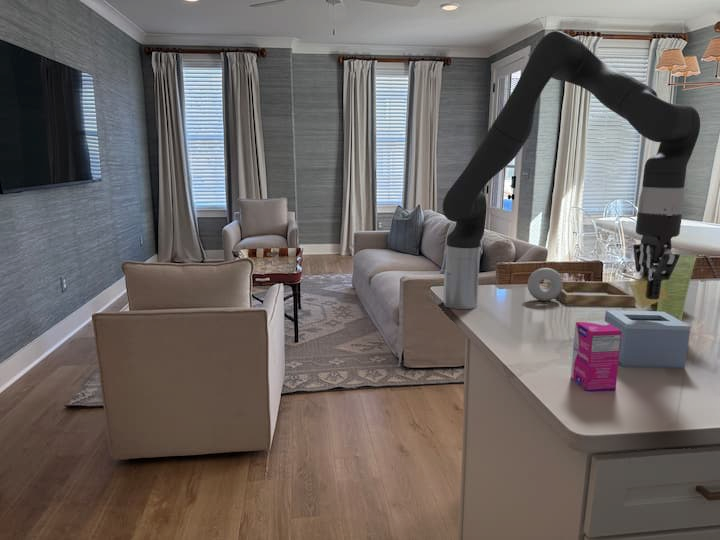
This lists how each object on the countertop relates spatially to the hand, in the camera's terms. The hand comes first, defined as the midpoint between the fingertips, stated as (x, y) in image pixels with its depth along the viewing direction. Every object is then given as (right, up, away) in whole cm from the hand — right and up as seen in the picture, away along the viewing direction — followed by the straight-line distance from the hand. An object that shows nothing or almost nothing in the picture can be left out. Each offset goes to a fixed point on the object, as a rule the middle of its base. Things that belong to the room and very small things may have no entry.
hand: (649, 296), depth 103 cm
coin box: (0, -13, +3) cm, 13 cm away
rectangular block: (-3, 0, 0) cm, 3 cm away
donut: (-4, -4, +48) cm, 48 cm away
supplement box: (-16, -16, -10) cm, 25 cm away
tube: (+15, -10, +19) cm, 26 cm away
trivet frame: (+11, -3, +52) cm, 53 cm away
